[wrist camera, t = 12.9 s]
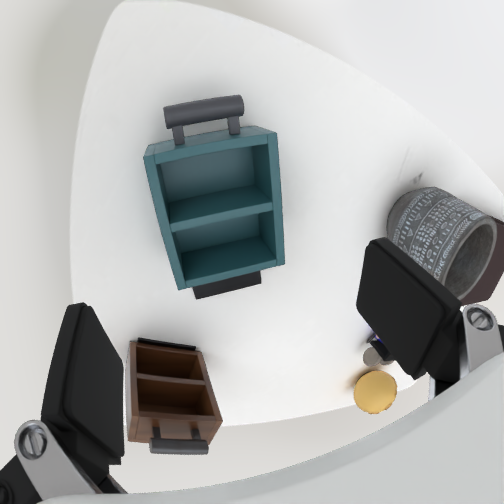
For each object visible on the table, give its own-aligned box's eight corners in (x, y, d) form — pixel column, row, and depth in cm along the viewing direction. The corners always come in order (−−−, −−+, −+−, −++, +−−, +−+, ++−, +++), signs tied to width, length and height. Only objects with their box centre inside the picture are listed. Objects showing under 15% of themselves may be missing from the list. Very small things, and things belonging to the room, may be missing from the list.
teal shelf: (142, 111, 22) (134, 114, 17) (251, 93, 24) (273, 92, 19) (174, 257, 30) (178, 290, 25) (265, 236, 32) (285, 264, 27)
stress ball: (338, 392, 58) (358, 426, 49) (360, 364, 54) (384, 399, 45) (368, 385, 61) (388, 415, 53) (390, 359, 57) (413, 389, 49)
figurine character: (374, 343, 53) (421, 289, 46) (390, 372, 47) (443, 319, 40) (352, 342, 51) (402, 284, 43) (368, 374, 45) (426, 317, 38)
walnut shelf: (215, 466, 26) (231, 444, 25) (129, 464, 22) (133, 441, 21) (191, 378, 40) (201, 351, 38) (125, 370, 35) (130, 340, 34)
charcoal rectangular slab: (184, 371, 40) (185, 373, 40) (132, 364, 36) (132, 366, 36) (195, 346, 38) (196, 347, 37) (138, 337, 34) (138, 339, 34)
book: (409, 298, 47) (429, 318, 42) (452, 201, 38) (478, 216, 34) (471, 290, 57) (486, 304, 52) (503, 221, 48) (520, 233, 43)
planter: (366, 258, 38) (424, 315, 28) (387, 174, 32) (465, 216, 22) (420, 252, 42) (474, 296, 31) (441, 181, 36) (506, 217, 25)
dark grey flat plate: (184, 255, 30) (184, 256, 30) (256, 238, 32) (256, 240, 32) (195, 298, 34) (196, 299, 33) (260, 282, 35) (261, 283, 35)
